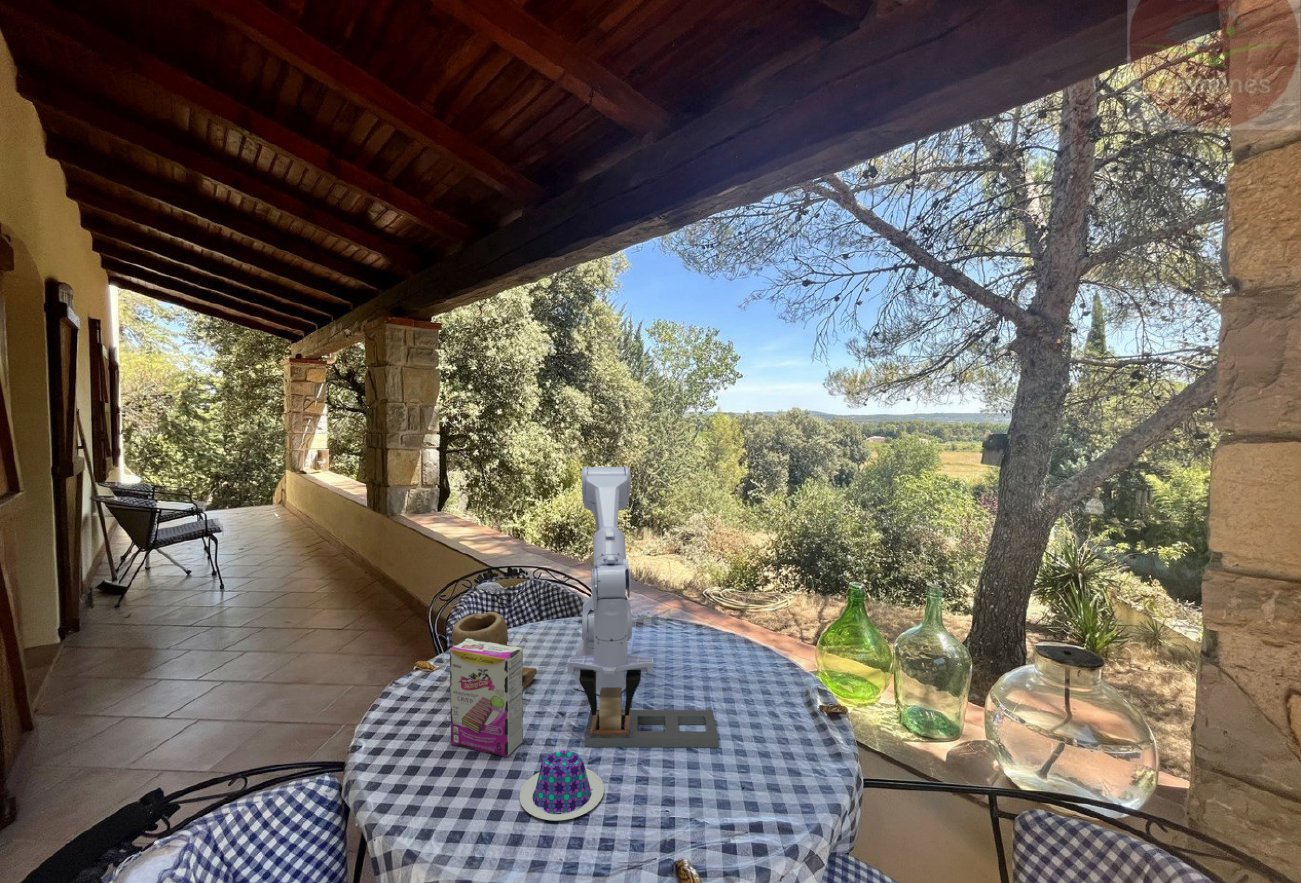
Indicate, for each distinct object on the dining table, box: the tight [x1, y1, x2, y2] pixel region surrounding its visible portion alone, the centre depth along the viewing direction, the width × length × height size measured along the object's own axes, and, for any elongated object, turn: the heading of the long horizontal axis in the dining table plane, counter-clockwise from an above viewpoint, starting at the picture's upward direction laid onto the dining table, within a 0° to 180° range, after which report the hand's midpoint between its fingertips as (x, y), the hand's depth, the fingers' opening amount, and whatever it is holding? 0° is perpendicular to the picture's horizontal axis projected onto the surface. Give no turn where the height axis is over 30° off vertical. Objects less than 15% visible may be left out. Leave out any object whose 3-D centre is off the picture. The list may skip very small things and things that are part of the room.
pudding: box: [519, 750, 605, 821], centre depth 83 cm, size 12×12×5 cm
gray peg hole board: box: [583, 709, 720, 748], centre depth 99 cm, size 22×9×2 cm, turn 90°
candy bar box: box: [449, 638, 524, 758], centre depth 95 cm, size 11×5×16 cm, turn 71°
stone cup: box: [451, 611, 538, 690], centre depth 114 cm, size 15×12×15 cm
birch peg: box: [598, 687, 623, 730], centre depth 99 cm, size 4×4×7 cm
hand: (610, 712), depth 99 cm, fingers open, 5 cm apart
